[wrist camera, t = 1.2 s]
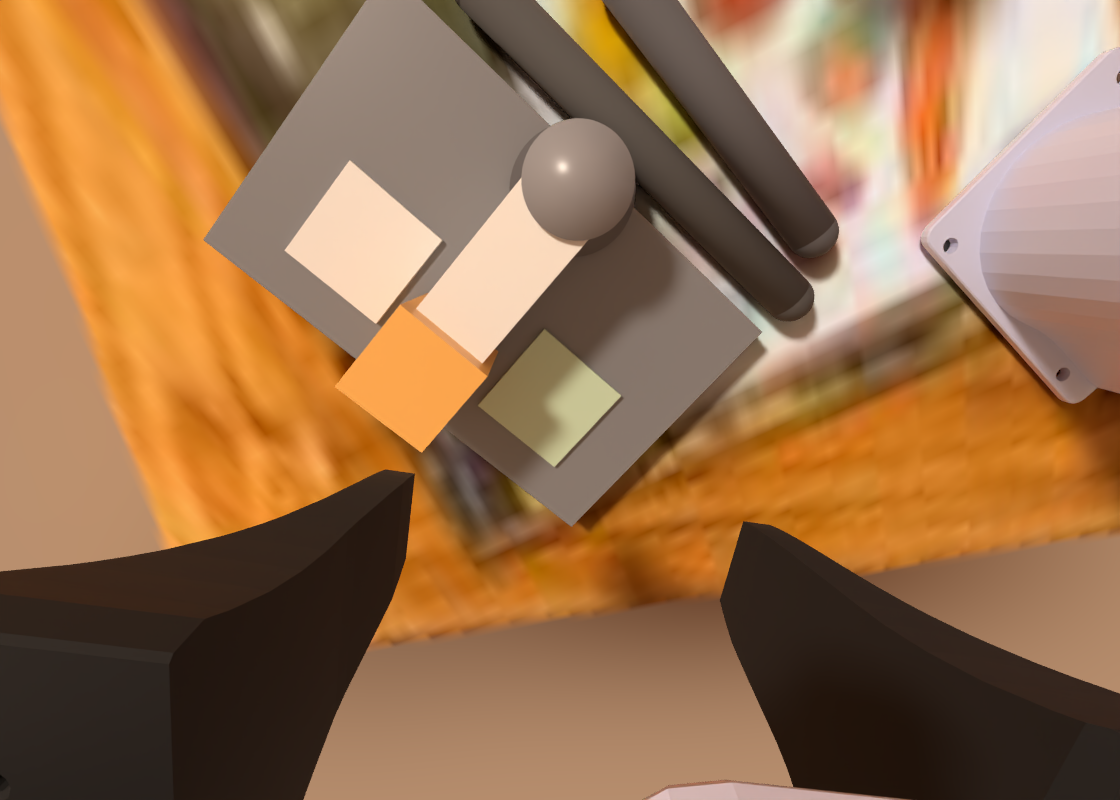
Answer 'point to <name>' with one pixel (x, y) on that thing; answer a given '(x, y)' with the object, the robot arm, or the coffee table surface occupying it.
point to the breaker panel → (442, 234)
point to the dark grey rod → (645, 151)
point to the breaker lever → (493, 281)
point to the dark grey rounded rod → (729, 121)
